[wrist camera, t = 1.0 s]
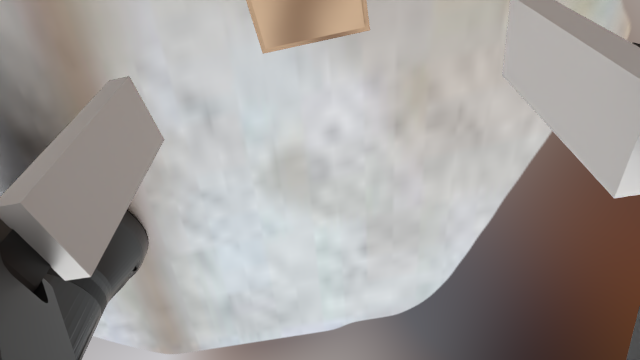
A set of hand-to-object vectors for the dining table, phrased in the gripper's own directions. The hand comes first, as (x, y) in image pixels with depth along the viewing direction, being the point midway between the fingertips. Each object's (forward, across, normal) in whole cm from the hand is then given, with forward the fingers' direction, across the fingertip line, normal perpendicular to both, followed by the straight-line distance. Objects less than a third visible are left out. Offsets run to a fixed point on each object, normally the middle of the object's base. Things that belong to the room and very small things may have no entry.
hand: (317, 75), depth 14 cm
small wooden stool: (+21, -1, +1) cm, 21 cm away
